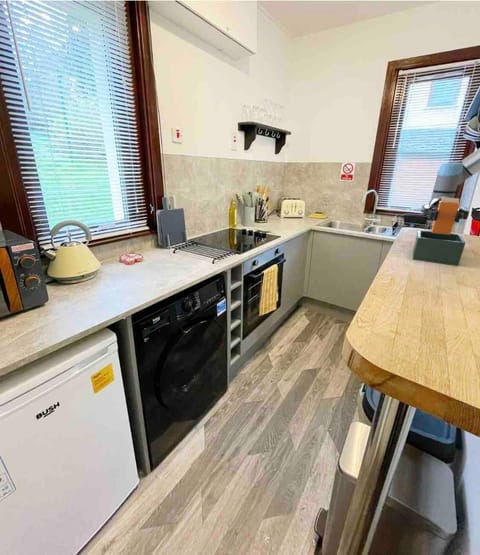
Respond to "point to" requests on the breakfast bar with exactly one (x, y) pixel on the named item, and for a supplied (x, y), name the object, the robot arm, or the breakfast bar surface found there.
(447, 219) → the block
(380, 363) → the breakfast bar surface
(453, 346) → the breakfast bar surface
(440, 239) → the waste bin
